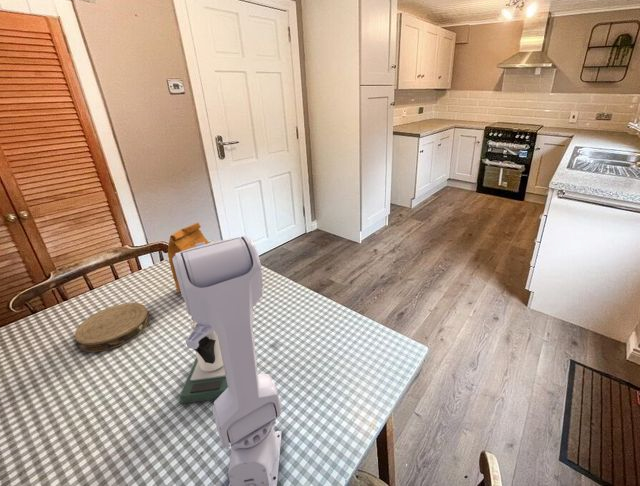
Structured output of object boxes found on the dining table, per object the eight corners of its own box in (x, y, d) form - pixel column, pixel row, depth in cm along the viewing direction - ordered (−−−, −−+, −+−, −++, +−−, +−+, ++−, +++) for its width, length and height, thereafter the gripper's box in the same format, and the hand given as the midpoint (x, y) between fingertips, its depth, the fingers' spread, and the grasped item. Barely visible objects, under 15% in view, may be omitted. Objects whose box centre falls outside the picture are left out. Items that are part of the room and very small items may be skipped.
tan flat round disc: (133, 304, 96) (131, 296, 95) (160, 322, 88) (158, 314, 87) (68, 336, 83) (64, 328, 82) (93, 361, 75) (89, 352, 74)
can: (200, 355, 74) (190, 316, 70) (228, 347, 77) (220, 308, 72) (198, 376, 69) (187, 335, 64) (229, 366, 71) (221, 326, 67)
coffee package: (224, 278, 109) (213, 222, 101) (194, 298, 98) (179, 238, 90) (203, 272, 113) (191, 218, 104) (172, 291, 102) (156, 233, 94)
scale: (230, 396, 67) (228, 388, 66) (181, 403, 65) (178, 395, 64) (242, 350, 79) (241, 342, 78) (201, 355, 77) (199, 347, 76)
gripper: (216, 279, 73) (225, 323, 78) (167, 320, 59) (182, 371, 64) (242, 282, 71) (250, 328, 76) (198, 326, 58) (211, 377, 63)
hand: (221, 348), depth 70 cm, fingers open, 7 cm apart
